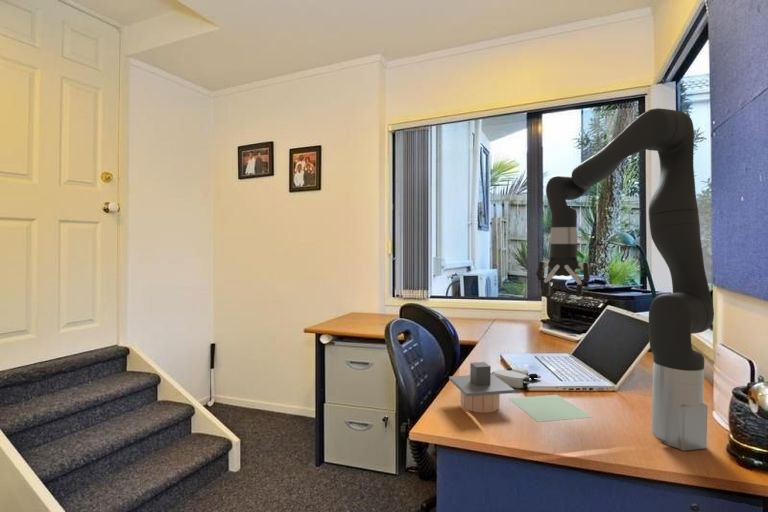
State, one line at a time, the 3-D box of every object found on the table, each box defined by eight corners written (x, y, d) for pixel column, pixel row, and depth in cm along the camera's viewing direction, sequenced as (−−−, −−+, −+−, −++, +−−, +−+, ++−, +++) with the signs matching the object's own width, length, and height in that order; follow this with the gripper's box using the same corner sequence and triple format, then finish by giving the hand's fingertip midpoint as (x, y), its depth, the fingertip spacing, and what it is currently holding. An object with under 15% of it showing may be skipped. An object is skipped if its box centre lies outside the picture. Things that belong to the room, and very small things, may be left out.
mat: (592, 420, 102) (592, 416, 102) (537, 425, 99) (537, 421, 99) (557, 397, 117) (557, 394, 117) (508, 401, 114) (508, 398, 114)
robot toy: (506, 377, 138) (484, 385, 126) (507, 363, 138) (485, 370, 127) (543, 385, 129) (523, 395, 118) (543, 371, 129) (523, 379, 118)
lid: (514, 392, 105) (514, 370, 104) (466, 396, 102) (466, 373, 102) (492, 376, 117) (492, 356, 117) (449, 379, 115) (449, 359, 115)
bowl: (506, 414, 106) (506, 391, 106) (469, 417, 104) (469, 394, 104) (489, 399, 116) (489, 378, 116) (455, 402, 114) (456, 380, 114)
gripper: (591, 242, 123) (590, 296, 123) (542, 242, 131) (541, 292, 131) (587, 242, 117) (586, 299, 117) (536, 242, 125) (535, 295, 125)
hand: (562, 295), depth 124 cm, fingers open, 8 cm apart
